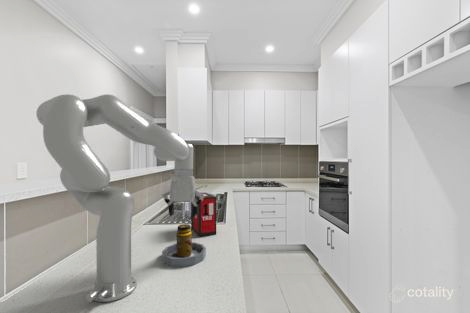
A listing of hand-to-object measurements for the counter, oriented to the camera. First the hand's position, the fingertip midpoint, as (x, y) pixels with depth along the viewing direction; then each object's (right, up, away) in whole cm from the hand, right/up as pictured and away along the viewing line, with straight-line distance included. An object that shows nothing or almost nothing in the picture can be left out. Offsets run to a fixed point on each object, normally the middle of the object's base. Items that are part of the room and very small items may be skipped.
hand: (183, 215), depth 94 cm
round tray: (0, -17, 0) cm, 17 cm away
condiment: (0, -17, 0) cm, 17 cm away
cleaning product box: (+4, -18, +33) cm, 38 cm away
